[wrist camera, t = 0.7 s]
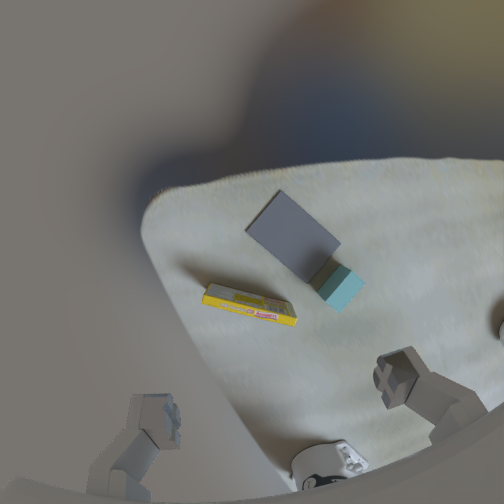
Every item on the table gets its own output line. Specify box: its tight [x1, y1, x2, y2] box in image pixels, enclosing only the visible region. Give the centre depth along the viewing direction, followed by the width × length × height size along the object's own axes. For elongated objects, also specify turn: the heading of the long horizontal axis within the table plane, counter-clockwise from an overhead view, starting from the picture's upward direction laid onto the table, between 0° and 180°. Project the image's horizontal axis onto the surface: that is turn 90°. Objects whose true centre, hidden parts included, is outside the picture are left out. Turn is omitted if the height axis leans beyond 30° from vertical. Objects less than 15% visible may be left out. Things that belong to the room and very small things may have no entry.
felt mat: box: [246, 191, 341, 283], centre depth 55 cm, size 15×10×1 cm, turn 50°
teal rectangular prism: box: [317, 265, 365, 313], centre depth 53 cm, size 4×7×7 cm, turn 140°
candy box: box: [202, 283, 298, 327], centre depth 53 cm, size 16×2×8 cm, turn 75°
